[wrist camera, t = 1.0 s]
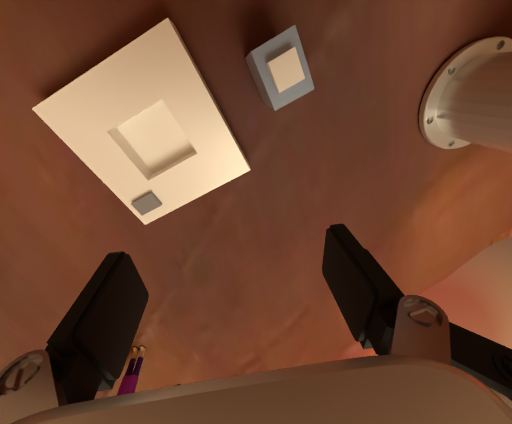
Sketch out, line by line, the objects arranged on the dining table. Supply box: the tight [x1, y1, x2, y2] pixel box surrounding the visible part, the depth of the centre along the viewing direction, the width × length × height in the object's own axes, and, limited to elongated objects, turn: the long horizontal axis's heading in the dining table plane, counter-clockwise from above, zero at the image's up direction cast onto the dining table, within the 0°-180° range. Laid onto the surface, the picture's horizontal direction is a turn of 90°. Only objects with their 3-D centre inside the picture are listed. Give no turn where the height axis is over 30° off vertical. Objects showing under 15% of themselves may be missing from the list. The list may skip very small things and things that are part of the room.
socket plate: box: [32, 18, 250, 225], centre depth 26 cm, size 16×16×4 cm
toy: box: [117, 346, 146, 395], centre depth 43 cm, size 10×6×15 cm, turn 96°
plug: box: [245, 25, 314, 111], centre depth 22 cm, size 4×5×8 cm
